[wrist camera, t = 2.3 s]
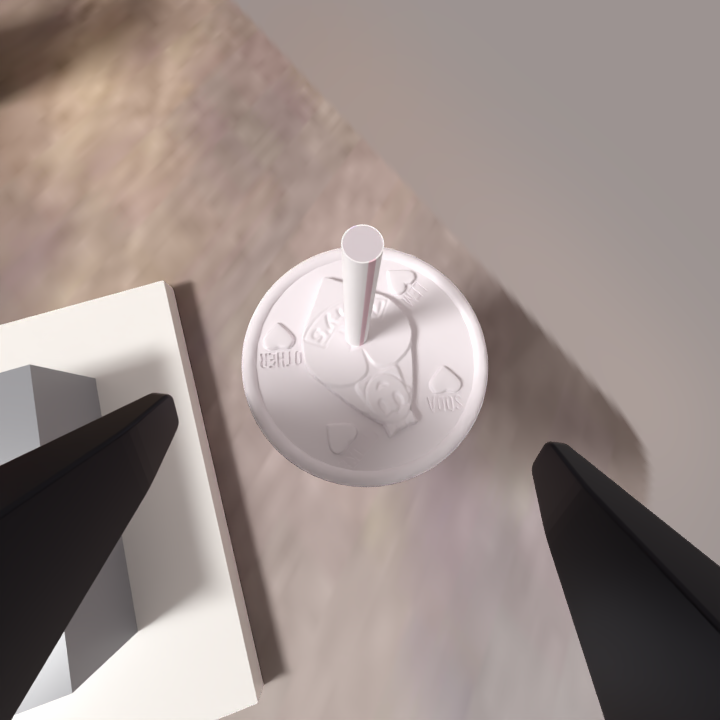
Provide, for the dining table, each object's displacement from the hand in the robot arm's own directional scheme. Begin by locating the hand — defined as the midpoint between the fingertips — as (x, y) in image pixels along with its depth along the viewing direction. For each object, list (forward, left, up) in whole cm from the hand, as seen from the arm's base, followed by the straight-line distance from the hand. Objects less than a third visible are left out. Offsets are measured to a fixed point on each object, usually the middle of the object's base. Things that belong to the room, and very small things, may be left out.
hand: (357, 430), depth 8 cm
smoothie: (+2, -1, -10) cm, 10 cm away
